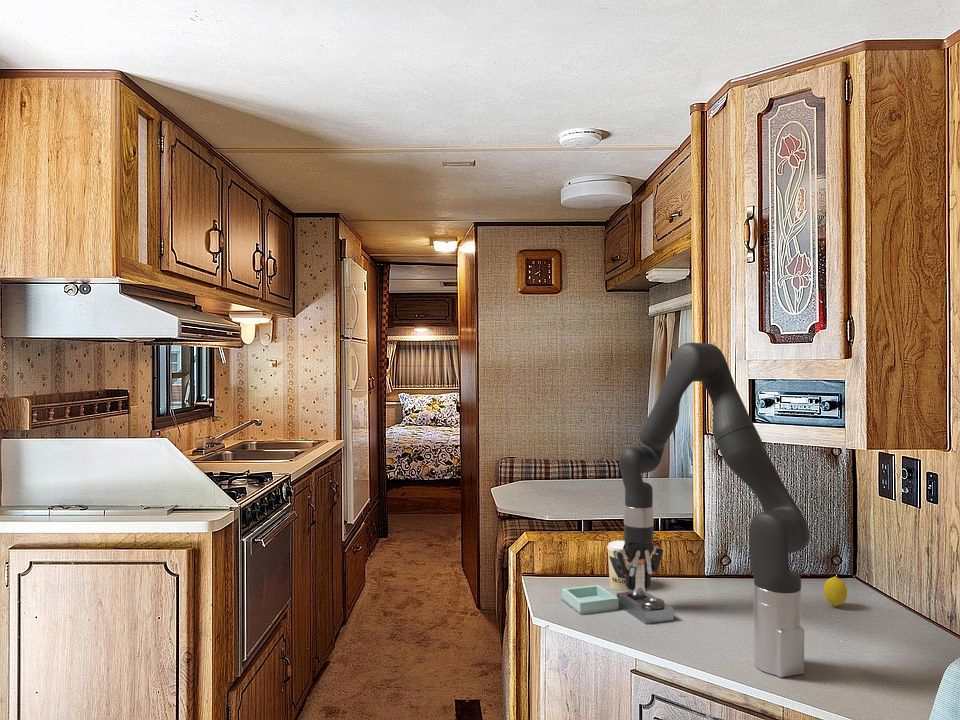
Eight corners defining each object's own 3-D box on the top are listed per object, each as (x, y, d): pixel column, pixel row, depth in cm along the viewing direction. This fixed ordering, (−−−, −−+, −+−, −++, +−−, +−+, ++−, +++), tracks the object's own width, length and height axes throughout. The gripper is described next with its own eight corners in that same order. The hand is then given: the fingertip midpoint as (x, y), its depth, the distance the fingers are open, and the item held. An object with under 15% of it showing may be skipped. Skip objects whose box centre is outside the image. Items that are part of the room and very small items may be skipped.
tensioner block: (673, 620, 175) (673, 601, 175) (645, 624, 172) (645, 604, 172) (643, 601, 188) (643, 583, 188) (616, 604, 185) (616, 586, 185)
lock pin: (647, 609, 182) (647, 558, 182) (635, 611, 181) (636, 560, 181) (640, 605, 185) (640, 555, 185) (628, 606, 184) (629, 556, 184)
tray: (618, 609, 182) (618, 598, 182) (580, 614, 178) (580, 602, 178) (598, 595, 192) (598, 584, 192) (561, 600, 189) (561, 588, 189)
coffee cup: (605, 590, 197) (605, 547, 196) (609, 579, 206) (609, 539, 205) (639, 593, 194) (639, 550, 194) (641, 583, 203) (641, 541, 203)
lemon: (841, 603, 187) (842, 573, 187) (850, 611, 181) (850, 580, 181) (820, 602, 188) (820, 572, 187) (828, 610, 182) (828, 579, 182)
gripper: (621, 528, 177) (621, 596, 177) (670, 524, 181) (669, 590, 182) (607, 521, 184) (606, 586, 184) (654, 517, 188) (654, 581, 189)
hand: (638, 588), depth 183 cm, fingers open, 4 cm apart
